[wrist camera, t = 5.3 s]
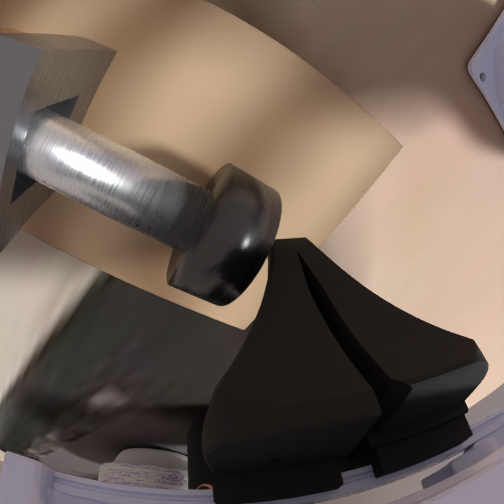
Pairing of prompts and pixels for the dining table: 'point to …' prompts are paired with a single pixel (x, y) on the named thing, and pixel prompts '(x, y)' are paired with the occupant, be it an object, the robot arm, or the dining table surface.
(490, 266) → the dining table surface
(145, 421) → the dining table surface
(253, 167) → the base board
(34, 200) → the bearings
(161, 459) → the paper bowls
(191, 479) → the coffee jar
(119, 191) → the shaft
